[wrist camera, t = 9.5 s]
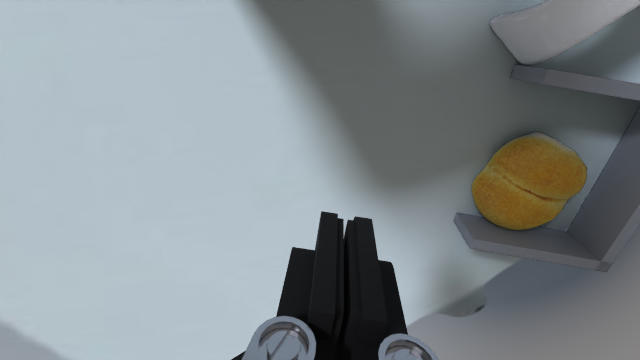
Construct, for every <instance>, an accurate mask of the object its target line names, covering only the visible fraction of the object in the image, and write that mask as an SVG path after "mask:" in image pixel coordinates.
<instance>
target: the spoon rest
mask: <svg viewBox="0 0 640 360" xmlns="http://www.w3.org/2000/svg"><path fill="white" fill-rule="evenodd" d="M639 5H640V0H547V1H545V2H543V3H541V4H538V5H536V6H533V7H531V8H528V9H525V10H522V11H518V12H514V13H510V14H505V15H500V16H497V17H494V18H493V19H491V21H490V26H491V28H492V29H493V30H494V32H495V33H496V34H497V36H498V37H499V38H500V39H501V40H502V42H503V43H504V44H505V46H506V47H507V48H508V49H509V51H510V52H511V53H512V54H513V55H514V57H515V58H516V59H517V60H518V61H519V62H520V63H521V64H522V65H525V66H528V65H535V64H539V63H542V62H544V61H547V60H549V59H551V58H553V57H555V56H557V55H558V54H560V53H562V52H564V51H566V50H568V49H569V48H571V47H573V46H575V45H576V44H578V43H580V42H582V41H583V40H585V39H586V38H588V37H590V36H591V35H593V34H595V33H596V32H598V31H599V30H601V29H603V28H604V27H606V26H607V25H609V24H611V23H612V22H614V21H615V20H617V19H619V18H620V17H622V16H623V15H625V14H627V13H628V12H630V11H631V10H633V9H635V8H636V7H638V6H639Z"/></svg>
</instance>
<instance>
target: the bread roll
mask: <svg viewBox="0 0 640 360" xmlns="http://www.w3.org/2000/svg"><path fill="white" fill-rule="evenodd" d="M586 177H587V167H586V166H585V164H584V163H583V161H582V160H581V159H580V157H579V156H578V154H577V153H575V151H574V150H572V149H571V148H569V147H567V146H566V145H564V144H562V143H561V142H559V141H557V140H555V139H554V138H552V137H550V136H546V135H544V134H543V133H540V132H534V133H531V134H528V135H525V136H522V137H518V138H516V139H513V140H511V141H509V142H508V143H506V144H505V145H504V146H502V147H501V148H500V149H499V150H498V151H497V152H496V153H495V154H494V155H493V157H492V158H491V160H490V161H489V162H488V164H487V165H486V166H485V168H484V169H482V170H481V172H480V173H479V174H478V175H477V176H476V178H475V179H474V181H473V183H472V195H473V199H474V202H475V204H476V207H477V208H478V210H479V211H480V213H481V214H482V215H483V216H484V217H485V218H486V219H487V220H489V221H490V222H492V223H493V224H495V225H498V226H500V227H502V228H506V229H511V230H525V229H530V228H534V227H537V226H540V225H542V224H545V223H547V222H549V221H551V220H553V219H554V218H555V217H556V216H557V215H558V214H559V213H560V212H561V210H562V209H563V207H564V205H565V204H566V202H567V201H568V199H569V198H570V197H572V196H574V195H576V194H577V193H578V192H579V191H581V189H582V187H583V186H584V184H585V182H586Z"/></svg>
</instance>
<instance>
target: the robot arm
mask: <svg viewBox="0 0 640 360" xmlns="http://www.w3.org/2000/svg"><path fill="white" fill-rule="evenodd" d="M232 360H439V359H438V357H437V356H436V354H435V353H434V352H433V351H432V349H431V348H430V347H429V346H428V345H427V344H425V343H424V342H422V341H421V340H419V339H418V338H416V337H413V336H411V335H408V333H407V328H406V324H405V319H404V314H403V310H402V305H401V301H400V296H399V291H398V287H397V282H396V277H395V273H394V268H393V265H392V263H391V262H387V261H381V260H378V256H377V249H376V243H375V236H374V230H373V224H372V219H368V218H361V217H354V220H353V221H352V220H348V221H347V226H346V230H345V235H344V239H343V219H339V218H338V214H335V213H329V212H322V211H321V217H320V223H319V229H318V235H317V241H316V247H315V250H308V249H302V248H295V247H293V248H292V251H291V255H290V259H289V264H288V268H287V272H286V277H285V281H284V285H283V290H282V294H281V298H280V303H279V307H278V311H277V316H276V317H274V318H271V319H269V320H267V321H265V322H264V323H263V324H261V325H260V326H259V327H258V329H257V330H256V332H255V333H254V335H253V337H252V339H251V341H250V343H249V345H248V347H247V350H246V351H244V352H243V353H241V354H240V355H238V356H236V357H235V358H233V359H232Z"/></svg>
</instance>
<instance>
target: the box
mask: <svg viewBox="0 0 640 360" xmlns="http://www.w3.org/2000/svg"><path fill="white" fill-rule="evenodd" d="M510 78H514V79H519V80H524V81H529V82H533V83H538V84H543V85H549V86H555V87H561V88H567V89H573V90H579V91H585V92H591V93H597V94H603V95H609V96H615V97H621V98H627V99H633V100H639V101H640V84H636V83H630V82H624V81H618V80H612V79H606V78H600V77H594V76H588V75H582V74H576V73H570V72H564V71H558V70H552V69H545V68H537V67H529V66H521V65H515V66H514V69H513V71H512V74H511V77H510ZM454 223H455V224H456V226H457V228H458V230H459V231H460V233H461V235H462V236H463V238H464V240H465V241H466V243H467V245H468V246H469V248H470V249H476V250H482V251H487V252H493V253H499V254H505V255H510V256H516V257H522V258H528V259H533V260H539V261H545V262H551V263H556V264H563V265H568V266H573V267H579V268H585V269H591V270H597V271H602V272H607V271H608V269H609V268H610V266H611V265H612V263H613V262H614V260H615V259H616V258H617V256H618V255H619V253H620V252H621V250H622V249H623V248H624V246H625V245H626V243H627V242H628V241H629V239H630V238H631V236H632V235H633V233H634V232H635V230H636V229H637V228H638V226H639V225H640V108H639V109H638V111H637V113H636V115H635V116H634V118H633V120H632V121H631V123H630V125H629V127H628V128H627V130H626V132H625V133H624V135H623V137H622V138H621V140H620V142H619V144H618V145H617V147H616V149H615V150H614V152H613V154H612V155H611V157H610V159H609V161H608V162H607V164H606V166H605V167H604V169H603V171H602V173H601V174H600V176H599V178H598V179H597V181H596V183H595V184H594V186H593V188H592V190H591V191H590V193H589V195H588V196H587V198H586V200H585V201H584V203H583V205H582V207H581V208H580V210H579V212H578V213H577V215H576V217H575V219H574V220H573V222H572V224H571V225H570V227H569V229H568V230H567V232H565V231H559V230H554V229H548V228H542V227H534V228H530V229H525V230H511V229H506V228H502V227H500V226H498V225H495V224H493V223H492V222H490V221H489V220H487V219H486V218H484V217H478V216H473V215H467V214H461V213H457V214H456V216H455V219H454Z"/></svg>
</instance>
